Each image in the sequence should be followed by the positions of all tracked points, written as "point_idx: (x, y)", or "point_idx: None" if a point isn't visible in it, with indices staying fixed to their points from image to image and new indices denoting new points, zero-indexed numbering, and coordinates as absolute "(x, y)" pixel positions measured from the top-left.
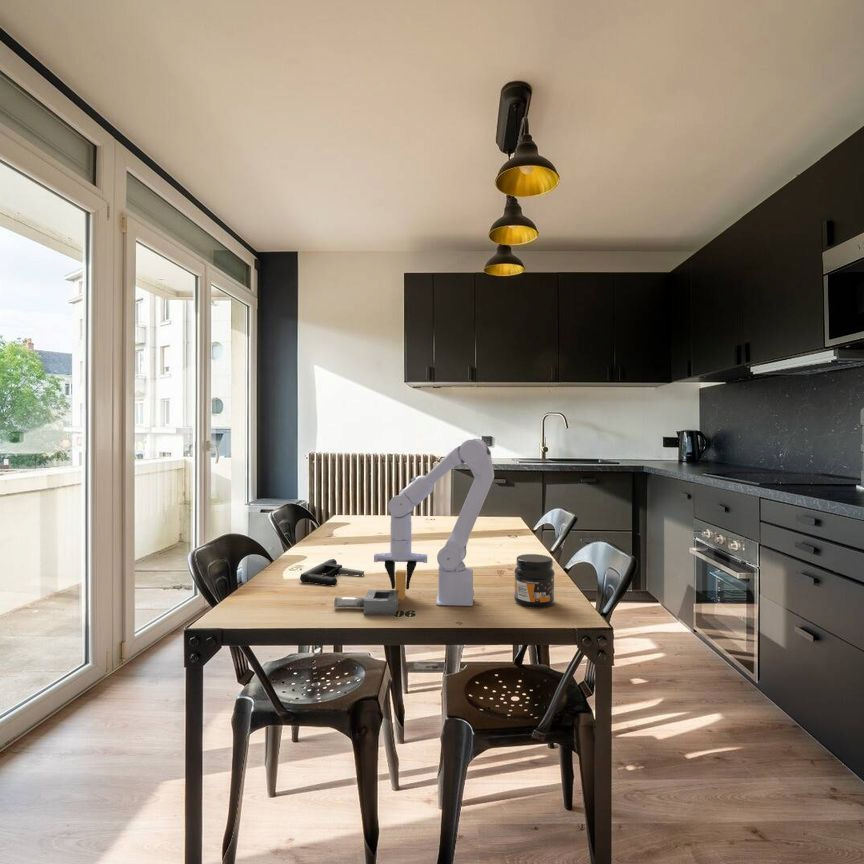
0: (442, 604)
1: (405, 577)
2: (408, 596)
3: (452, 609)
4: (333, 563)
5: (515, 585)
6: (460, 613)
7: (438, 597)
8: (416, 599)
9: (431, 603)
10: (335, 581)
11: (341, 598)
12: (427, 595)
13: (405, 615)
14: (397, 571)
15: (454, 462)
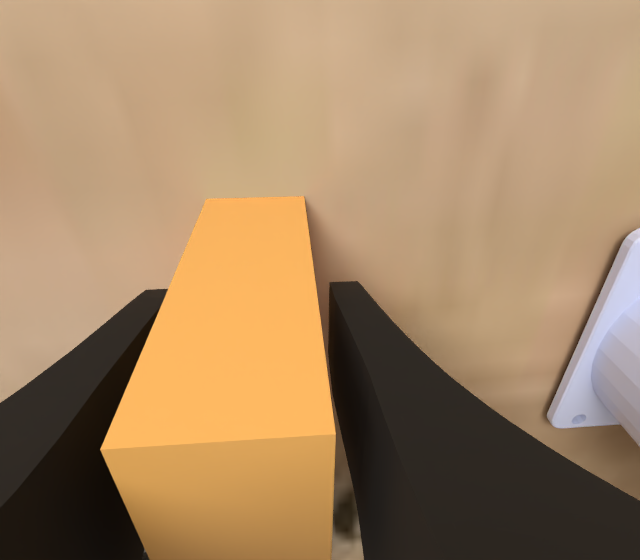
0: (584, 423)
1: (319, 316)
2: (340, 243)
3: (616, 447)
4: None
5: None
6: (633, 484)
7: (604, 370)
8: (414, 313)
9: (518, 379)
10: None
11: None
12: (538, 197)
13: (336, 533)
14: (167, 540)
15: None
